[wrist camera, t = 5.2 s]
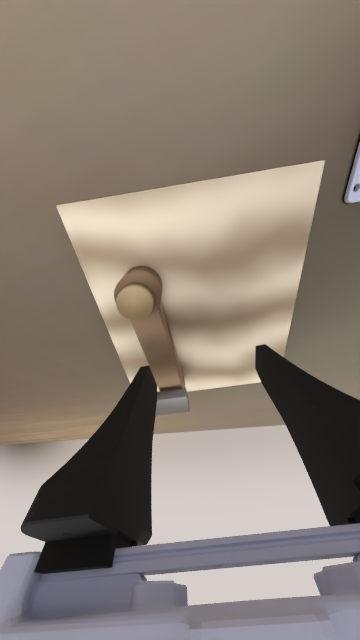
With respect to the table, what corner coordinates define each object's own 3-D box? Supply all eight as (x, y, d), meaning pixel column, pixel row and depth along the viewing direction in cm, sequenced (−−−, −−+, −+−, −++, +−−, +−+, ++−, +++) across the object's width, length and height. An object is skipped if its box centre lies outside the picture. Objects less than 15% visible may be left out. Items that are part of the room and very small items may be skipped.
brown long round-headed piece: (117, 270, 15) (106, 280, 13) (156, 261, 15) (153, 270, 13) (162, 384, 23) (160, 405, 20) (188, 379, 23) (191, 400, 20)
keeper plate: (64, 206, 14) (2, 198, 9) (313, 164, 13) (402, 129, 8) (137, 390, 26) (129, 434, 20) (274, 373, 25) (301, 413, 20)
